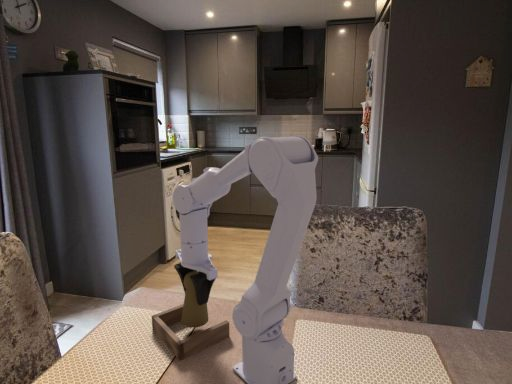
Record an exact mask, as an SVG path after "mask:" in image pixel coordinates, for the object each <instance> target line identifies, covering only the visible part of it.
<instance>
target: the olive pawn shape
mask: <svg viewBox="0 0 512 384" xmlns="http://www.w3.org/2000/svg"><path fill="white" fill-rule="evenodd" d="M195 274H199V271H193V272H190V273H188V274H186V276H185V277H184V287H185V288H186V292H184V294H185V295H184V299H183V300H184V301H183V304H184V305H183V312H182V318H181V321H180V322H181V324H182V325H184V326H185V327H188V328H200V327H202V326H205V325H206V324H207V323H208V322H209V313H208V312H209V310H208V302H207V303H205V304H203V305H198V303H197V298H196V291H195V287H194V284H193V282H192V280H191V279H190V276H192V275H195Z"/></svg>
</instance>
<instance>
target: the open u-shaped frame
mask: <svg viewBox="0 0 512 384" xmlns="http://www.w3.org/2000/svg"><path fill="white" fill-rule="evenodd" d="M183 305H184V303H182V304H180V305H177V306H175V307H172V308H169V309H167V310H164V311H161V312H158V313H155V314H152V315H151V325H152V331H153V332H154V333H155V335H156V336H157V337H158V338H159V339H160V340H161V341H162V342H163V344H164V345H165V346H166V347H167V348H168V349H169V351H171V352H172V354H173V356H175V358H177V360H179V361H182V360H184V359H186V358H189V357H190V356H193V355H194V354H196V353H198V352H201V351H202V350H205V349H206V348H209V347H211V346H213V345H215V344H217V343H219V342H221V341H224V340H226V339H227V338H230V322H229V320H227V319H226V320H223V321H222V322H219V323H217V324H215V325H212V326H211V327H207V328H206V329H204V330H201V331H199V332H196V333H194V334H192V335H189V336H187V337H186V338H183V339H181V338H179V336H177V334H176V333H175V332H174V331H173V330H172V329H171V328H170V326H173V325H176V324H177V323H180V322H181V318H182V312H183Z"/></svg>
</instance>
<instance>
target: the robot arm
mask: <svg viewBox="0 0 512 384" xmlns="http://www.w3.org/2000/svg"><path fill="white" fill-rule="evenodd" d="M318 162H319V156H318V154H317V152H316V150H315V149H314V147H313V144H312V143H311V141H310V140H309V139H308V138H306V137H304V136H303V135H292V136H279V137H278V136H277V137H276V136H275V137H274V136H273V137H269V136H261V137H258V138H256V139H255V140H254V141H253V142H250V143H248V144H246V145H244V150H242V151H241V152H240V153H238V154H237V155H236V156H235V157H233V158H232V159H231V160H230V161H228V162H227V163H226V164H225V165H223V166H222V167H221V168H219V167H212V166H210V167H205V168H204V169H203V173H202V174H200V175H199V176H198V177H194V178H192V179H191V180H190V182H189V183H188V184H186V185H184V184H178V185H176V187H175V188H174V189H173V192H172V203H173V205H174V208H175V210H176V212H178V215H179V234H180V249H176V250H175V260H179V262H178V263H176V264H174V265H173V267H174V269H175V271H176V273H177V274H178V277H179V279H180V281H181V284H182V288H183V291H184V293H185V292H186V288H185V287H184V277H185V276H186V274H188V273H190V272H193V271H199V274H195V275H192V276H190V279H191V280H192V282H193V284H194V287H195V291H196V298H197V303H198V305H203V304H205V303H207V304H208V302H209V297H210V296H211V295H210V294H211V291H212V287H213V285H214V283H215V281H216V279H218V268H216V266H215V265H214V264H213V262H212V260H213V254H210V253H209V237H208V236H209V234H208V232H209V231H208V218H209V216H210V215H211V214H210V213H211V211H210V209H211V208H212V205H213V203H214V202H216V201H218V200H219V199H221V198H222V197H225V196H226V195H228V193H229V192H230V191H231V187H232V184H234V183H236V182H237V181H239V180H241V179H243V178H245V177H247V176H249V175H251V174H253V175H254V176H255V177H256V178H257V180H258V181H259V182H260V183H261V184H262V185H263V187H264V188H265V189H266V190H267V191H268V193H269V194H270V196H271V197H272V198H274V199H276V201H277V203H278V204H277V206H276V211H275V213H274V217H273V220H272V224H271V226H270V230H269V234H268V237H267V238H266V239H267V240H266V243H265V246H264V249H263V253H262V255H261V259H260V262H259V266H258V269H257V271H256V275H255V278H254V281H253V282H252V284H251V285H250V286H249V287H248V288H247V289H246V291H245V292H244V293H243V294H242V296H241V298H240V301H239V303H237V304H236V305H235V306H234V308H233V309H232V321H233V326H234V328H235V329H236V331H237V332H238V333H239V334H240V335H241V337H242V339H241V341H242V342H241V343H242V344H241V346H242V349H241V351H242V352H241V354H242V356H241V357H242V358H241V359H242V361H239V362H238V363H236V364H234V365H233V366H232V370H233V371H234V372H235V373H236V374H237V375H238V376H239V377H240V378H241V379H242V380H244V382H246V383H247V384H290V383H291V382H293V381H295V380H296V379H297V374H296V373H295V372H294V370H295V348H294V346H293V345H292V343H290V341H289V340H288V339H287V338H286V337H285V335H284V333H283V330H282V329H283V326H284V321H285V320H284V319H285V318H287V317H288V316H289V314H290V312H291V301H290V299H291V296H292V290H291V289H290V287H289V286H288V283H289V280H290V276H291V274H292V271H293V269H294V266H295V263H296V261H297V257H298V254H299V252H300V249H301V245H302V243H303V241H304V238H305V235H306V232H307V229H308V227H309V224H310V221H311V219H312V215H313V213H314V211H315V207H316V203H317V199H318V197H317V195H318V194H317V183H316V182H317V181H316V168H317V164H318Z"/></svg>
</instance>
